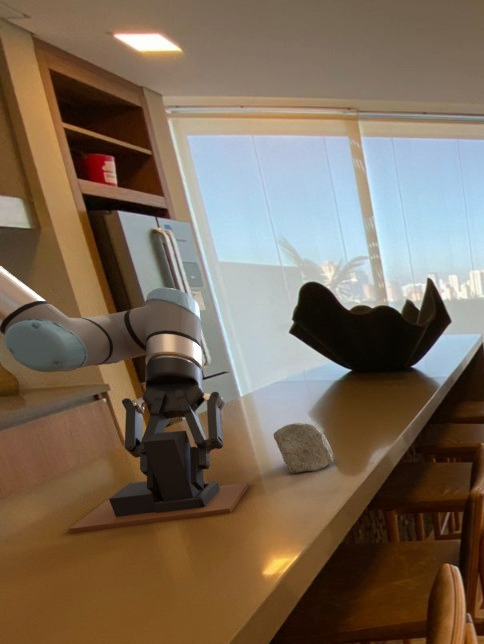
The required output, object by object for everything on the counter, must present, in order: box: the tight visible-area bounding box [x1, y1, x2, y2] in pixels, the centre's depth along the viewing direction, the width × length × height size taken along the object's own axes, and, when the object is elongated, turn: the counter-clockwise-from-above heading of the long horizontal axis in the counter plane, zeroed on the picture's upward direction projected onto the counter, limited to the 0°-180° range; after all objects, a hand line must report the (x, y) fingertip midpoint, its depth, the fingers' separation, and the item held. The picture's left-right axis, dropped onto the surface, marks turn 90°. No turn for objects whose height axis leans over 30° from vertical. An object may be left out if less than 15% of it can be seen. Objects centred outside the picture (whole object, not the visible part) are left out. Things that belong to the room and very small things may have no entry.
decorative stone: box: [272, 422, 334, 474], centre depth 112 cm, size 13×11×10 cm
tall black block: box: [143, 430, 203, 501], centre depth 91 cm, size 4×6×11 cm, turn 23°
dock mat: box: [68, 480, 250, 534], centre depth 92 cm, size 20×14×4 cm
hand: (175, 488), depth 89 cm, fingers open, 5 cm apart
